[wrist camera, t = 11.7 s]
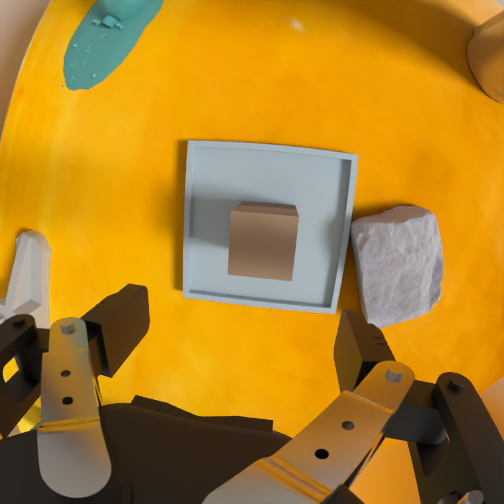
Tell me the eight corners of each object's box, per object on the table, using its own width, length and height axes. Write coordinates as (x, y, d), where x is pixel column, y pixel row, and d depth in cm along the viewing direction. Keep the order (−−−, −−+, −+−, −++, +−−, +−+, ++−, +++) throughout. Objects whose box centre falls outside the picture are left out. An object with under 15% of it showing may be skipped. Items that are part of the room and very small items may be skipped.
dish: (192, 141, 29) (188, 140, 27) (355, 155, 28) (358, 154, 26) (186, 292, 33) (183, 297, 32) (333, 308, 32) (335, 313, 31)
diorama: (42, 83, 28) (-2, 73, 20) (128, -37, 23) (98, -67, 15) (96, 117, 29) (47, 109, 21) (196, -19, 24) (173, -58, 16)
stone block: (416, 196, 30) (337, 220, 29) (443, 201, 25) (357, 228, 25) (426, 292, 33) (355, 321, 33) (449, 307, 28) (374, 343, 28)
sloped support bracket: (52, 238, 34) (11, 255, 26) (51, 344, 39) (22, 371, 31) (26, 226, 34) (-14, 240, 26) (27, 329, 39) (-2, 352, 31)
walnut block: (243, 200, 29) (230, 210, 23) (295, 205, 29) (299, 216, 22) (240, 250, 31) (227, 274, 24) (290, 255, 30) (291, 281, 24)
